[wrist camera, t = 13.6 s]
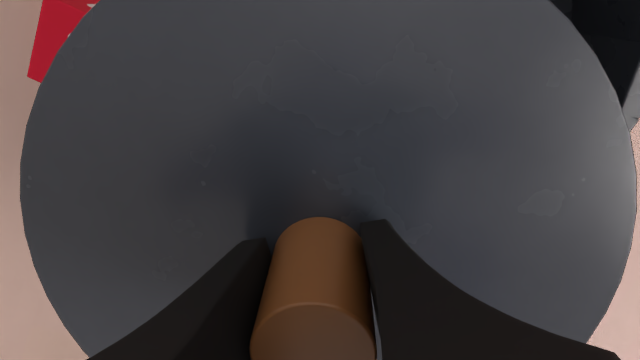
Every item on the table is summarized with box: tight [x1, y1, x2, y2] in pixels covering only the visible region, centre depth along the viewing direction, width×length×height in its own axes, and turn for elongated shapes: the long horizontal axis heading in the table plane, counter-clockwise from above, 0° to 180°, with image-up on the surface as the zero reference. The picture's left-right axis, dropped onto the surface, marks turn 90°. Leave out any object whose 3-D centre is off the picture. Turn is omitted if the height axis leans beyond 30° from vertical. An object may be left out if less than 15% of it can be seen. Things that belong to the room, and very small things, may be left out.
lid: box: [20, 0, 637, 360], centre depth 10 cm, size 15×15×4 cm
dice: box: [27, 0, 100, 83], centre depth 17 cm, size 3×3×3 cm
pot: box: [550, 0, 640, 132], centre depth 15 cm, size 14×14×5 cm
